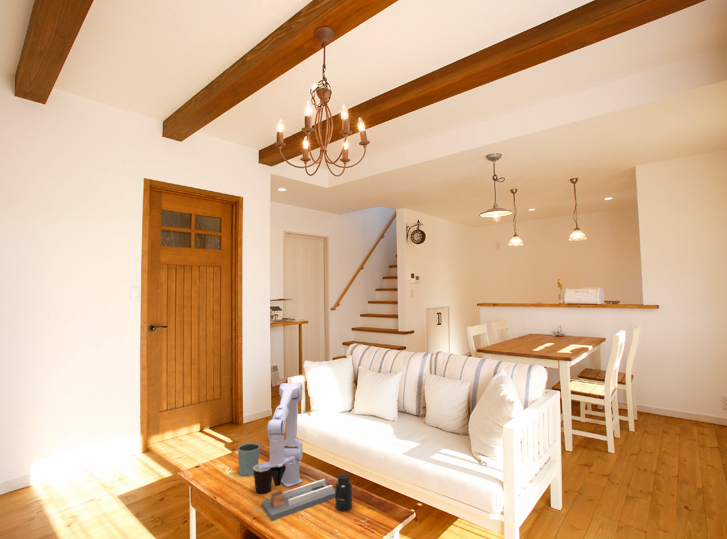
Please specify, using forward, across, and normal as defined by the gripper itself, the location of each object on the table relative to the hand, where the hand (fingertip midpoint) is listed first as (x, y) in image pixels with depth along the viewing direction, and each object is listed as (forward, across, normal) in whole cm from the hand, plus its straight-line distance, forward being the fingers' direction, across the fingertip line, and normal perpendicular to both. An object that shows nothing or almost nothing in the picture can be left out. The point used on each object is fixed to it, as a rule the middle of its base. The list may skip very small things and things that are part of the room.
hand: (277, 485), depth 150 cm
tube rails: (+7, +13, 0) cm, 15 cm away
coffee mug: (+10, +2, +19) cm, 21 cm away
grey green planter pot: (+10, 0, +39) cm, 40 cm away
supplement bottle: (+10, +22, -14) cm, 28 cm away
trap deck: (+9, +10, 0) cm, 13 cm away
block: (+7, 0, 0) cm, 7 cm away
